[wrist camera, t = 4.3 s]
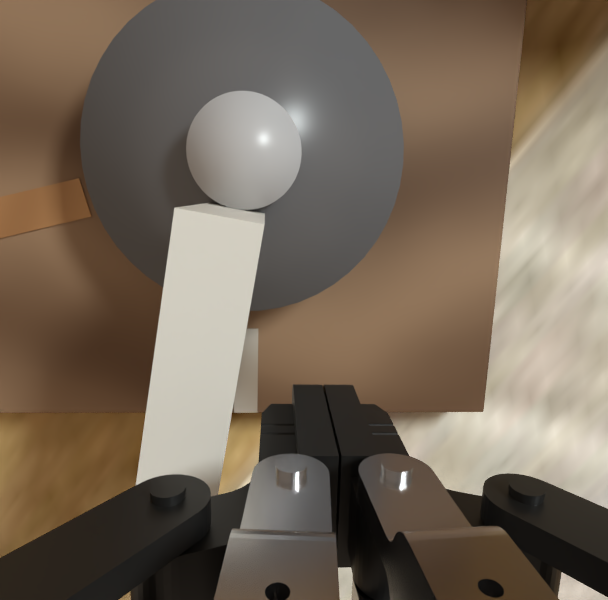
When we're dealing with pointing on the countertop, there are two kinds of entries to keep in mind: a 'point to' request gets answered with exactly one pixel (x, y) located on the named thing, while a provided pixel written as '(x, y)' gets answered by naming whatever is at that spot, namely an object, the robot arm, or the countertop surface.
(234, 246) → the dial
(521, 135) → the countertop surface
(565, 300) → the countertop surface
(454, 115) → the dial plate
